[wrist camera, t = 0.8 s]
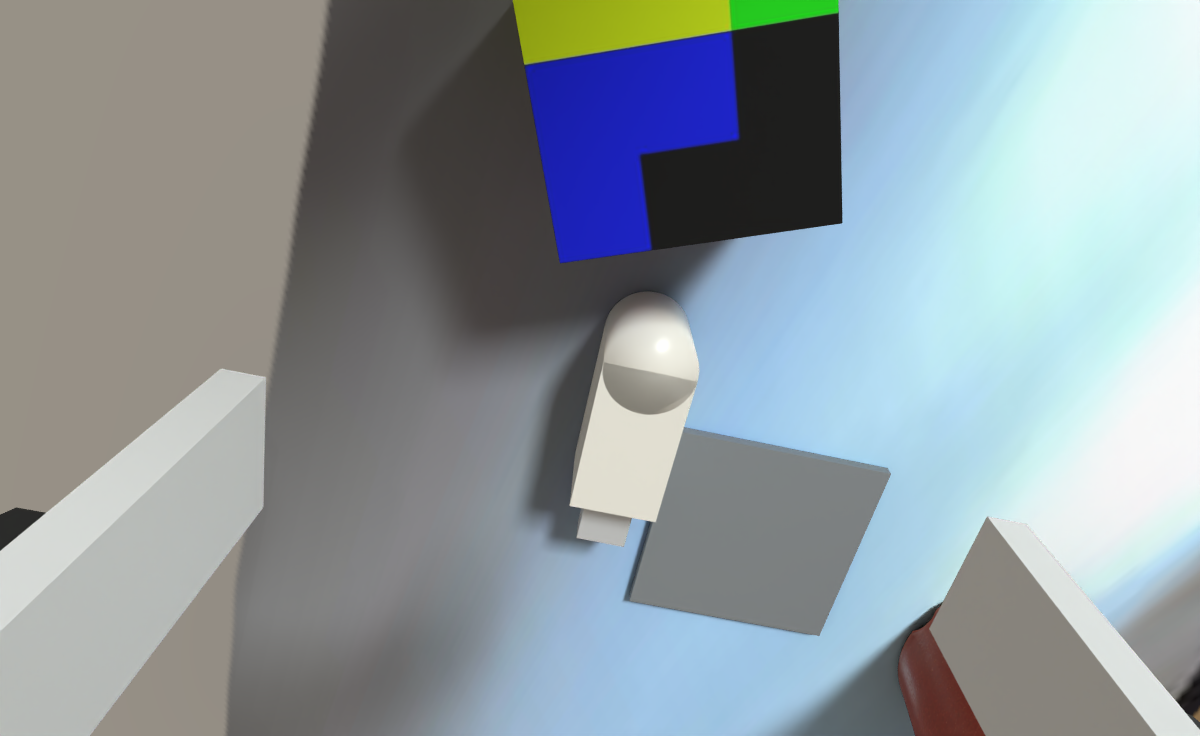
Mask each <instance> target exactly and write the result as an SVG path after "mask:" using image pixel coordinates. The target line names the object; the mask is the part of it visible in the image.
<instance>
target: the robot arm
mask: <svg viewBox="0 0 1200 736" xmlns="http://www.w3.org/2000/svg"><path fill="white" fill-rule="evenodd" d="M265 401H266V377H263V376H257V375H252V374H247V373H242V372H236V371H231V370H226V369H220V370H219V371H217V372H216V373H215V374H214V375H213V376H211V377H210V378H209V379H208V380H207V381H205V382H204V383H203V384H202V385H201V386H199V387H198V388H197V389H196V390H194V391H193V392H192V393H191V394H190V395H188V396H187V397H186V398H185V399H184V400H182V401H181V402H180V403H179V404H177V405H176V406H175V407H174V408H173V409H171V410H170V411H169V412H168V413H167V414H165V415H164V416H163V417H162V418H160V419H159V420H158V421H157V422H156V423H154V424H153V425H152V426H151V427H150V428H148V429H147V430H146V431H145V432H144V433H142V434H141V435H140V436H139V437H138V438H136V439H135V440H134V441H133V442H131V443H130V444H129V445H128V446H127V447H125V448H124V449H123V450H122V451H121V452H119V453H118V454H117V455H116V456H114V457H113V458H112V459H111V460H110V461H108V462H107V463H106V464H105V465H104V466H102V467H101V468H100V469H99V470H98V471H97V472H95V473H94V474H93V475H92V476H90V477H89V478H88V479H87V480H85V481H84V482H83V483H82V484H81V485H79V486H78V487H77V488H76V489H75V490H73V491H72V492H71V493H70V494H69V495H67V496H66V497H65V498H64V499H62V500H61V501H60V502H59V503H58V504H56V505H55V506H54V507H53V508H52V509H50V510H49V511H48V512H47V513H44V512H38V511H33V510H27V509H21V508H14V509H12V510H10V511H8V512H5V513H3V514H1V515H0V736H90V735H91V733H92V732H93V731H94V730H95V728H96V727H97V726H98V724H99V723H100V722H101V720H102V719H103V718H104V716H105V715H106V714H107V712H108V711H109V710H110V708H111V707H112V706H113V704H114V703H115V702H116V701H117V699H118V698H119V697H120V695H121V694H122V693H123V691H124V690H125V689H126V687H127V686H128V685H129V683H130V682H131V681H132V679H133V678H134V677H135V676H136V674H137V673H138V672H139V670H140V669H141V668H142V666H143V665H144V664H145V662H146V661H147V660H148V658H149V657H150V656H151V654H152V653H153V652H154V651H155V649H156V648H157V647H158V645H159V644H160V643H161V641H162V640H163V639H164V637H165V636H166V635H167V633H168V632H169V631H170V630H171V628H172V627H173V626H174V624H175V623H176V622H177V620H178V619H179V618H180V616H181V615H182V614H183V612H184V611H185V610H186V608H187V607H188V606H189V605H190V603H191V602H192V601H193V599H194V598H195V597H196V595H197V594H198V593H199V591H200V590H201V589H202V587H203V586H204V585H205V583H206V582H207V581H208V579H209V578H210V577H211V575H212V574H213V573H214V572H215V570H216V569H217V567H218V566H219V565H220V564H221V562H222V561H223V560H224V558H225V557H226V556H227V555H228V553H229V552H230V550H231V549H232V548H233V547H234V545H235V544H236V543H237V541H238V540H239V539H240V537H241V536H242V535H243V533H244V532H245V531H246V530H247V528H248V527H249V526H250V524H251V523H252V522H253V520H254V519H255V518H256V516H257V515H258V514H259V512H260V511H261V510H262V508H263V493H264V447H265ZM929 630H930V631H931V633H932V635H933V637H934V639H935V641H936V643H937V645H938V647H939V648H940V650H941V652H942V654H943V656H944V658H945V660H946V662H947V664H948V666H949V667H950V669H951V671H952V673H953V675H954V677H955V679H956V681H957V683H958V685H959V686H960V688H961V690H962V692H963V694H964V696H965V698H966V700H967V702H968V704H969V705H970V707H971V709H972V711H973V713H974V715H975V717H976V719H977V721H978V722H979V724H980V726H981V728H982V730H983V732H984V734H985V736H1200V722H1199V721H1198V720H1196V719H1195V718H1194V717H1193V716H1192V715H1189V714H1186V713H1185V712H1184V710H1183V709H1182V708H1181V707H1180V706H1179V705H1178V703H1177V702H1176V701H1175V700H1174V699H1173V697H1172V696H1171V695H1170V694H1169V693H1168V691H1167V690H1166V689H1165V688H1164V687H1163V686H1162V684H1161V683H1160V682H1159V681H1158V680H1157V678H1156V677H1155V676H1154V675H1153V674H1152V672H1151V671H1150V670H1149V669H1148V668H1147V667H1146V665H1145V664H1144V663H1143V662H1142V661H1141V659H1140V658H1139V657H1138V656H1137V655H1136V653H1135V652H1134V651H1133V650H1132V649H1131V648H1130V646H1129V645H1128V644H1127V643H1126V642H1125V640H1124V639H1123V638H1122V637H1121V636H1120V634H1119V633H1118V632H1117V631H1116V630H1115V629H1114V627H1113V626H1112V625H1111V624H1110V623H1109V621H1108V620H1107V619H1106V618H1105V617H1104V615H1103V614H1102V613H1101V612H1100V611H1099V610H1098V608H1097V607H1096V606H1095V605H1094V604H1093V602H1092V601H1091V600H1090V599H1089V598H1088V596H1087V595H1086V594H1085V593H1084V592H1083V591H1082V589H1081V588H1080V587H1079V586H1078V585H1077V583H1076V582H1075V581H1074V580H1073V579H1072V577H1071V576H1070V575H1069V574H1068V573H1067V572H1066V570H1065V569H1064V568H1063V567H1062V566H1061V564H1060V563H1059V562H1058V561H1057V560H1056V558H1055V557H1054V556H1053V555H1052V554H1051V553H1050V551H1049V550H1048V549H1047V548H1046V547H1045V545H1044V544H1043V543H1042V542H1041V541H1040V539H1039V538H1038V537H1037V536H1036V535H1035V534H1034V532H1033V531H1032V530H1031V529H1030V528H1029V526H1028V525H1027V524H1024V523H1018V522H1013V521H1008V520H1003V519H998V518H992V517H987V518H986V520H985V522H984V524H983V526H982V527H981V529H980V531H979V533H978V535H977V537H976V539H975V541H974V543H973V545H972V547H971V549H970V551H969V553H968V555H967V557H966V558H965V560H964V562H963V564H962V566H961V568H960V570H959V572H958V574H957V576H956V578H955V580H954V582H953V584H952V586H951V587H950V589H949V591H948V593H947V595H946V597H945V599H944V601H943V603H942V605H941V607H940V609H939V611H938V613H937V615H936V617H935V618H934V620H933V622H932V624H931V626H930V628H929Z"/></svg>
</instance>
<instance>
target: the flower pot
mask: <svg viewBox="0 0 1200 736" xmlns="http://www.w3.org/2000/svg"><path fill="white" fill-rule="evenodd" d="M940 607H941V606H940ZM940 607H939V608H938V609H937V610H936V611H935V613H934V615H933V617H932V619H931V620H930V621H929V622H928V623H927V624H926V625H925V626H924V627H922V628H921V629H919V630H914V631H912V633H911V634H910V636H909V637H908V638H907V640H906V642H905V644H904V646H903V648H902V651H901V654H900V657H899V663H898V679H899V684H900V688H901V691H902V694H903V697H904V700H905V703H906V707H907V710H908V713H909V717H910V720H911V723H912V726H913V730H914V733H915V736H985V734H984V732H983V730H982V728H981V726H980V724H979V722H978V721H977V719H976V717H975V715H974V713H973V711H972V709H971V707H970V705H969V704H968V702H967V700H966V698H965V696H964V694H963V692H962V690H961V688H960V686H959V685H958V683H957V681H956V679H955V677H954V675H953V673H952V671H951V669H950V667H949V666H948V664H947V662H946V660H945V658H944V656H943V654H942V652H941V650H940V648H939V647H938V645H937V643H936V641H935V639H934V637H933V635H932V633H931V631H930V630H929V628H930V626H931V624H932V622H933V620H934V618H935V617H936V615H937V613H938V611H939V609H940Z"/></svg>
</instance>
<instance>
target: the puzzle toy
mask: <svg viewBox="0 0 1200 736" xmlns="http://www.w3.org/2000/svg"><path fill="white" fill-rule="evenodd" d="M513 4H514V10H515V15H516V21H517V27H518V32H519V38H520V43H521V49H522V55H523V60H524V66H525V71H526V77H527V82H528V88H529V94H530V99H531V105H532V110H533V116H534V121H535V127H536V133H537V138H538V144H539V149H540V155H541V161H542V166H543V172H544V177H545V183H546V188H547V194H548V200H549V205H550V211H551V216H552V222H553V228H554V233H555V239H556V244H557V250H558V255H559V261H560V263H566V262H573V261H580V260H587V259H594V258H601V257H608V256H615V255H622V254H629V253H636V252H644V251H651V250H658V249H665V248H672V247H679V246H686V245H693V244H700V243H707V242H714V241H721V240H728V239H735V238H742V237H749V236H756V235H763V234H770V233H777V232H784V231H791V230H798V229H806V228H813V227H820V226H827V225H834V224H841V223H842V175H841V120H840V65H839V10H838V0H513Z"/></svg>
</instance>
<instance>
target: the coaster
mask: <svg viewBox="0 0 1200 736" xmlns="http://www.w3.org/2000/svg"><path fill="white" fill-rule="evenodd" d="M890 475H891V473H890V472H889V470H888V468H884V467H879V466H874V465H869V464H864V463H859V462H854V461H849V460H844V459H839V458H834V457H829V456H824V455H819V454H814V453H809V452H804V451H799V450H794V449H789V448H784V447H780V446H775V445H770V444H765V443H760V442H755V441H750V440H745V439H740V438H735V437H730V436H725V435H720V434H715V433H710V432H705V431H700V430H695V429H690V428H685V427H684V429H683V432H682V435H681V439H680V442H679V445H678V449H677V452H676V456H675V459H674V462H673V466H672V469H671V472H670V476H669V479H668V482H667V486H666V489H665V492H664V496H663V499H662V503H661V506H660V509H659V513H658V516H657V519H656V522H650V526H649V529H648V533H647V536H646V539H645V543H644V546H643V550H642V553H641V556H640V560H639V563H638V567H637V570H636V573H635V577H634V580H633V584H632V587H631V590H630V594H629V599H630V601H632V602H638V603H643V604H649V605H654V606H660V607H665V608H670V609H676V610H681V611H687V612H692V613H698V614H703V615H709V616H714V617H719V618H725V619H730V620H736V621H741V622H747V623H752V624H757V625H763V626H768V627H774V628H779V629H785V630H790V631H795V632H801V633H806V634H812V635H817V636H819V635H820V633H821V631H822V628H823V626H824V624H825V622H826V619H827V617H828V615H829V613H830V610H831V608H832V606H833V604H834V601H835V599H836V597H837V595H838V592H839V590H840V588H841V585H842V583H843V581H844V579H845V576H846V574H847V572H848V570H849V567H850V565H851V563H852V561H853V558H854V556H855V554H856V552H857V549H858V547H859V545H860V543H861V540H862V538H863V536H864V534H865V531H866V529H867V527H868V525H869V522H870V520H871V518H872V516H873V513H874V511H875V509H876V507H877V504H878V502H879V500H880V498H881V495H882V493H883V491H884V489H885V486H886V484H887V482H888V480H889V477H890Z"/></svg>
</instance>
